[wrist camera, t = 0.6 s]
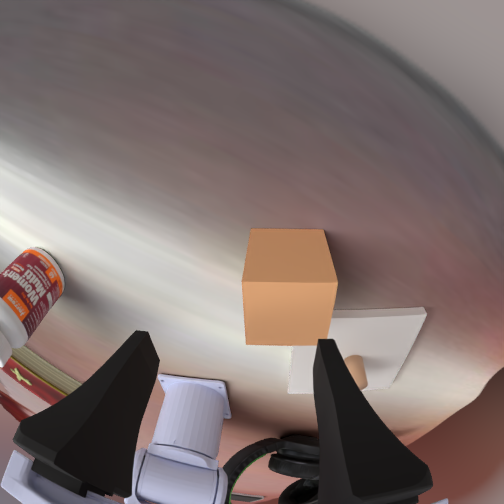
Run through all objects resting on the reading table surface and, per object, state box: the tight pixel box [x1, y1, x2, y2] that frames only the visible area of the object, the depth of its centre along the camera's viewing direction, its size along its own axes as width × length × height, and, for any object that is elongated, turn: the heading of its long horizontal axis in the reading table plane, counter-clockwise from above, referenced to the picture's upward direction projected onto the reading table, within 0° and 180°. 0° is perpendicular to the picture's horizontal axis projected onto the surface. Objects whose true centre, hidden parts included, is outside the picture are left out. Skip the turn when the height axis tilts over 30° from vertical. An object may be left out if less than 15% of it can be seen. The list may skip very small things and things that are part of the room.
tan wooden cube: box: [242, 228, 338, 346], centre depth 19 cm, size 5×5×6 cm
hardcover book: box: [0, 346, 82, 405], centre depth 36 cm, size 12×21×4 cm, turn 57°
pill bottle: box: [0, 247, 65, 367], centre depth 19 cm, size 6×6×11 cm
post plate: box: [288, 307, 427, 394], centre depth 25 cm, size 12×12×4 cm
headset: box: [223, 435, 320, 504], centre depth 32 cm, size 18×14×29 cm
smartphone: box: [231, 492, 264, 502], centre depth 74 cm, size 13×27×2 cm, turn 69°
